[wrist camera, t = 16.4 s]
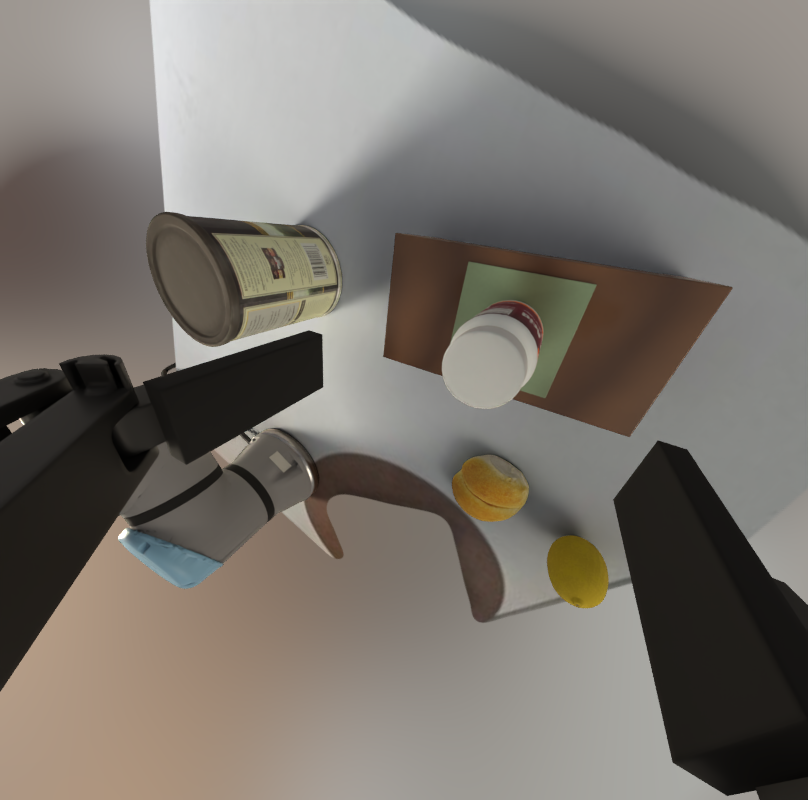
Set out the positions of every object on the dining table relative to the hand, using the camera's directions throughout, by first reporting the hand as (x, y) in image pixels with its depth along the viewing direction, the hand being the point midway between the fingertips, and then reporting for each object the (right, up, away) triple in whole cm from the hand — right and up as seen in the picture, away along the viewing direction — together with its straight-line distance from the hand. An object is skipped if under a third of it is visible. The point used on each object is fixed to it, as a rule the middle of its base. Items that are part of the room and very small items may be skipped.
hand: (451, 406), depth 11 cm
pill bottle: (+6, +5, +9) cm, 12 cm away
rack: (+9, +8, +15) cm, 19 cm away
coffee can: (-13, +16, +23) cm, 31 cm away
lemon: (+18, -16, +22) cm, 33 cm away
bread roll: (+9, -10, +24) cm, 27 cm away
